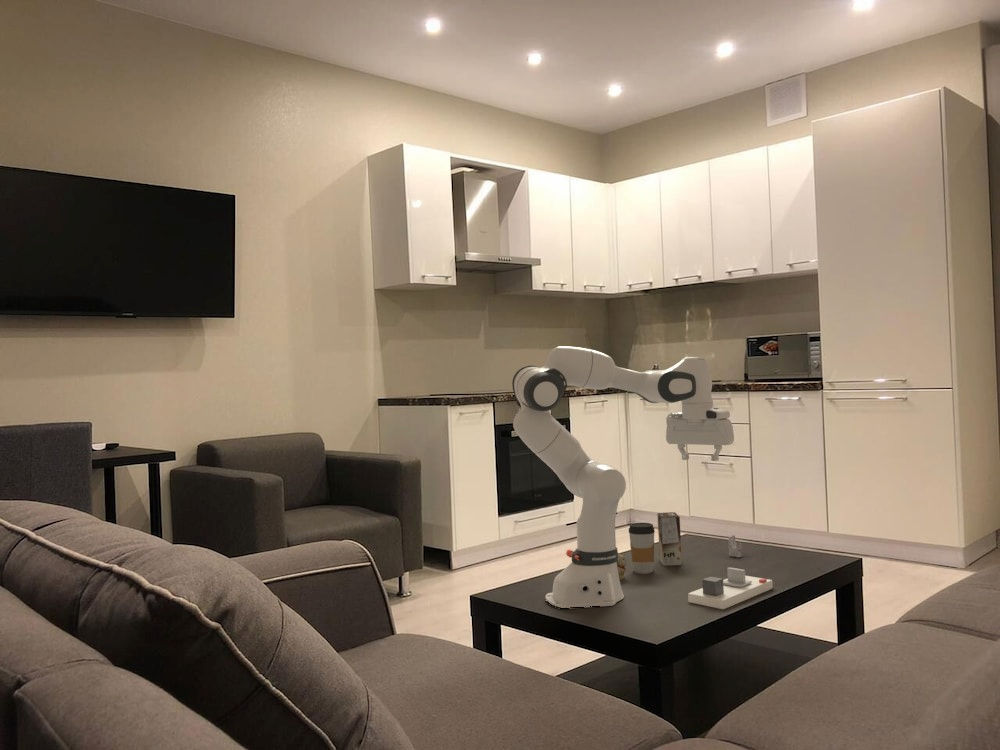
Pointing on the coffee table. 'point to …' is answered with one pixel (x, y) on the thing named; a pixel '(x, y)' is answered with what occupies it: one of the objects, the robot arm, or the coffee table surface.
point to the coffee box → (669, 538)
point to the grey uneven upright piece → (731, 547)
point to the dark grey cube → (713, 586)
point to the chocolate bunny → (621, 566)
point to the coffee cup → (642, 547)
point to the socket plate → (731, 593)
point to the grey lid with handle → (736, 578)
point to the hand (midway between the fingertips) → (700, 460)
